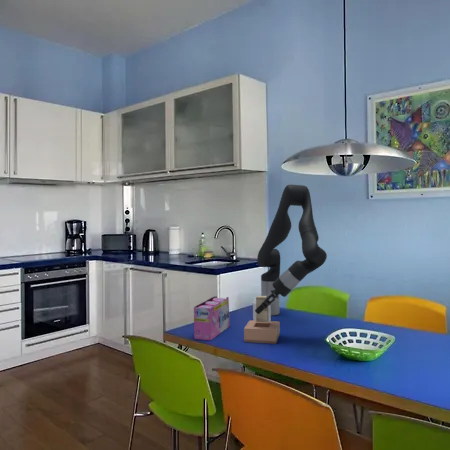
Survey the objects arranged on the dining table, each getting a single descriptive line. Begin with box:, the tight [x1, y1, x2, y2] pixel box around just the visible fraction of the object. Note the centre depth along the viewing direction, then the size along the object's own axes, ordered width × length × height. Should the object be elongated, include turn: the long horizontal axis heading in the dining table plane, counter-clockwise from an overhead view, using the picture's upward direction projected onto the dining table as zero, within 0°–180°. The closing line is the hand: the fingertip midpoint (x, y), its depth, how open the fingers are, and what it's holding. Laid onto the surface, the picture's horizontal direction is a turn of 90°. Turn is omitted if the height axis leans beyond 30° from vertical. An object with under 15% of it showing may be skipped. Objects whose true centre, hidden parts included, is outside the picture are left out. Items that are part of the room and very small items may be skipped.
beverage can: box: [252, 298, 272, 321], centre depth 196 cm, size 8×8×12 cm
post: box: [255, 295, 269, 322], centre depth 177 cm, size 4×4×10 cm
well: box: [243, 319, 281, 345], centre depth 177 cm, size 13×13×6 cm
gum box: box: [193, 295, 231, 341], centre depth 188 cm, size 24×8×14 cm, turn 159°
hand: (257, 310), depth 177 cm, fingers closed on post, 4 cm apart
